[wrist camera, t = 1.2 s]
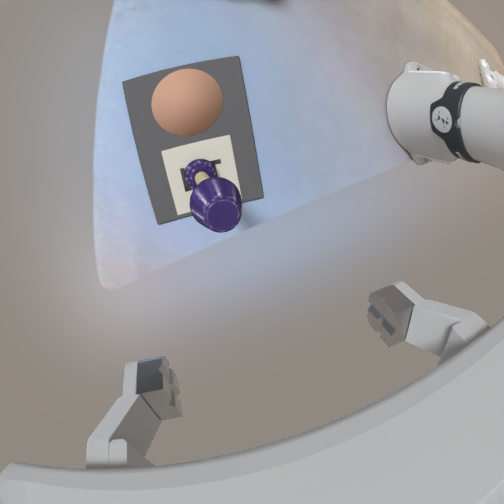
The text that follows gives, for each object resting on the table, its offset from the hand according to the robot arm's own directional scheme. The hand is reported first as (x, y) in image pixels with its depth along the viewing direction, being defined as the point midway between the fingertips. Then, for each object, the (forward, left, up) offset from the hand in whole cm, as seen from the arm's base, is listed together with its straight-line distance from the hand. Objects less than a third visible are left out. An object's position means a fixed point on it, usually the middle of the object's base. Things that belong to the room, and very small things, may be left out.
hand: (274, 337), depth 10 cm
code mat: (0, -5, -31) cm, 31 cm away
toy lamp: (0, 0, -31) cm, 31 cm away
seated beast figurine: (-65, -14, -31) cm, 73 cm away
